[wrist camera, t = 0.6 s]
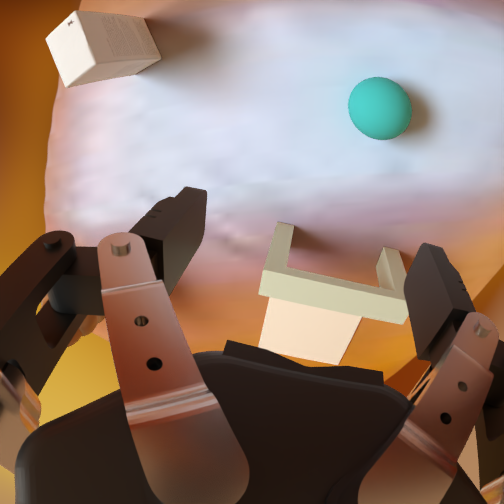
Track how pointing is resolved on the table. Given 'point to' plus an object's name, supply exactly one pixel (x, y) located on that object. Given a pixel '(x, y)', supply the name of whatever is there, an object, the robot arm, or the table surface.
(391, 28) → the table surface
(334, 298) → the bridge
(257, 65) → the table surface
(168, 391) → the robot arm
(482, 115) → the table surface
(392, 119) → the ball
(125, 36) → the skincare box
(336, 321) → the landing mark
